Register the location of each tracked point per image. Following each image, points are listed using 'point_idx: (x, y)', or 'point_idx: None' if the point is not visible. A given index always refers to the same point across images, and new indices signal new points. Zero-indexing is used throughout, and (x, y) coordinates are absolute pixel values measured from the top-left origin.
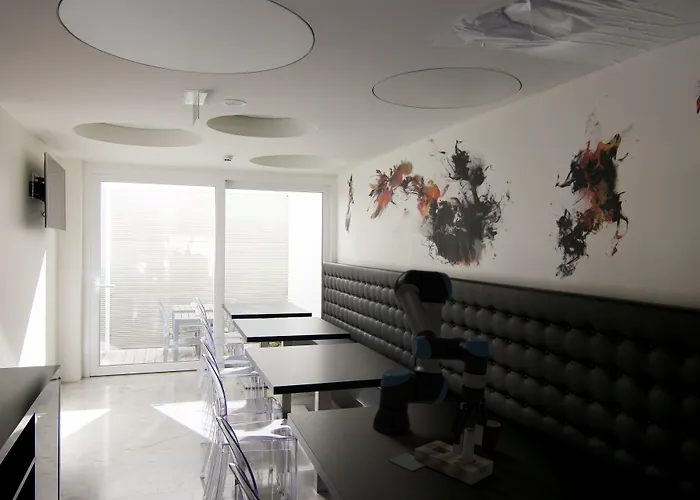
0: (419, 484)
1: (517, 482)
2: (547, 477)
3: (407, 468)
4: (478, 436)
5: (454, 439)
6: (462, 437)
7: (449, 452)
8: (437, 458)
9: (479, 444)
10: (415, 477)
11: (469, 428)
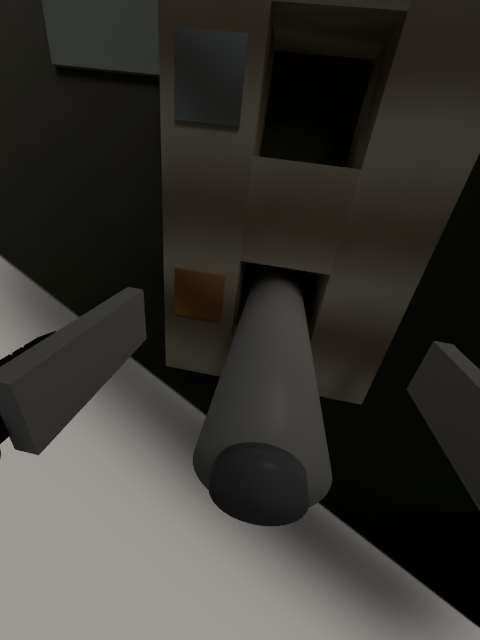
0: (8, 183)
1: (330, 438)
2: (443, 496)
3: (44, 14)
4: (452, 420)
5: (15, 355)
6: (55, 428)
7: (319, 175)
8: (162, 159)
9: (413, 385)
10: (32, 126)
11: (262, 491)
